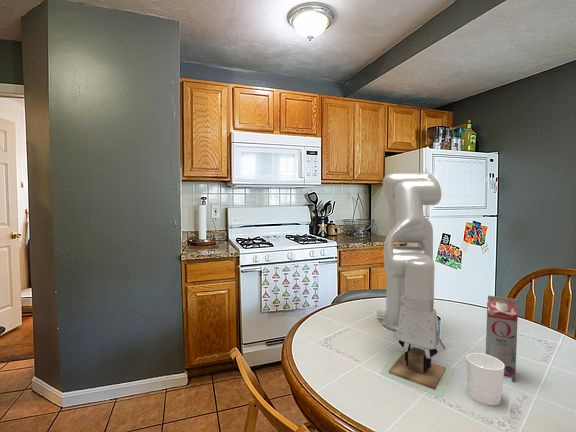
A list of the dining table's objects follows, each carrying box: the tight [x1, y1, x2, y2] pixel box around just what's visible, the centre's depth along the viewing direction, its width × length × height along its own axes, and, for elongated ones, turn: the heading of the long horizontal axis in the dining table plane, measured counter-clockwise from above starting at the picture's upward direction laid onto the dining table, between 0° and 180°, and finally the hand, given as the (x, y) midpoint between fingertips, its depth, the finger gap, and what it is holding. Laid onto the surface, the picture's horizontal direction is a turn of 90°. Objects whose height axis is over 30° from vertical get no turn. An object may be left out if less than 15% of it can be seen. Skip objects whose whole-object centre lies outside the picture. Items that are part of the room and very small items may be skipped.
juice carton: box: [485, 295, 519, 383], centre depth 86 cm, size 7×7×22 cm
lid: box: [389, 346, 446, 390], centre depth 85 cm, size 12×12×6 cm
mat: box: [378, 351, 455, 398], centre depth 86 cm, size 16×16×1 cm
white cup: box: [465, 352, 505, 406], centre depth 74 cm, size 8×8×10 cm
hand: (417, 366), depth 85 cm, fingers closed on lid, 4 cm apart
